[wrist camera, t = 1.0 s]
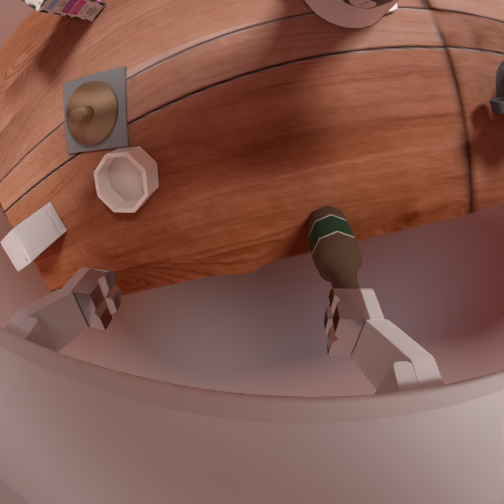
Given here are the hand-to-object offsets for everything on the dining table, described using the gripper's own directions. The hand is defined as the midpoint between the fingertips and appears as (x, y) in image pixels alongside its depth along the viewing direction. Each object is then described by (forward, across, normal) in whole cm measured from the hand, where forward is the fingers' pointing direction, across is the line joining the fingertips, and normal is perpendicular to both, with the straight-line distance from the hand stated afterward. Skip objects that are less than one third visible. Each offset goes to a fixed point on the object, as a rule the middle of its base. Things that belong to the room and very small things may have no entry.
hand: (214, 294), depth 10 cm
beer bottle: (+40, -12, +16) cm, 45 cm away
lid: (+40, +34, -7) cm, 52 cm away
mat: (+40, +34, -7) cm, 53 cm away
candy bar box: (+40, +36, -33) cm, 64 cm away
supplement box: (+40, +54, +18) cm, 70 cm away
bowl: (+40, +26, +7) cm, 48 cm away
